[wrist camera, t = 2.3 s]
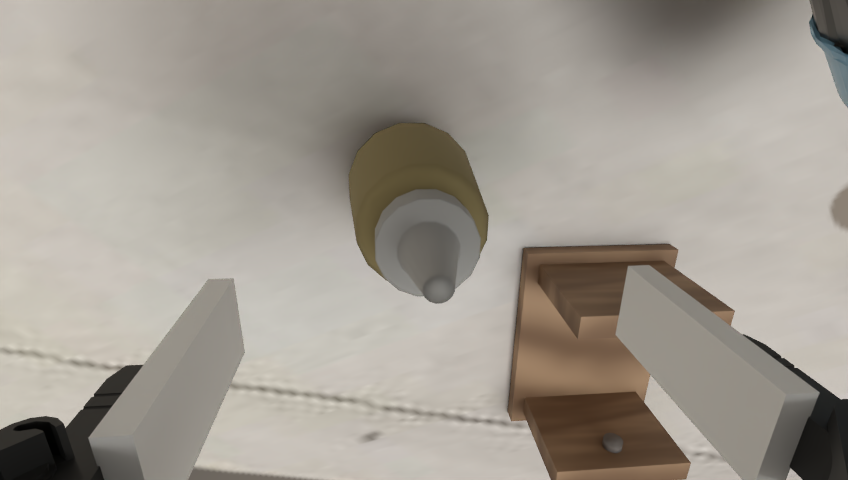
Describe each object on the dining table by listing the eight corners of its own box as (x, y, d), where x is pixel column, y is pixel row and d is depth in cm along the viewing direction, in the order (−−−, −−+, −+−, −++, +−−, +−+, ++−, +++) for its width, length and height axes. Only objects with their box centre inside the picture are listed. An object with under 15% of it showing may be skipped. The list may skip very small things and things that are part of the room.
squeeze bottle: (393, 246, 35) (407, 415, 19) (327, 157, 32) (274, 264, 16) (484, 187, 34) (585, 311, 18) (424, 91, 31) (478, 129, 15)
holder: (523, 247, 36) (567, 304, 28) (669, 244, 37) (753, 297, 29) (507, 411, 42) (539, 499, 34) (634, 404, 43) (696, 487, 35)
